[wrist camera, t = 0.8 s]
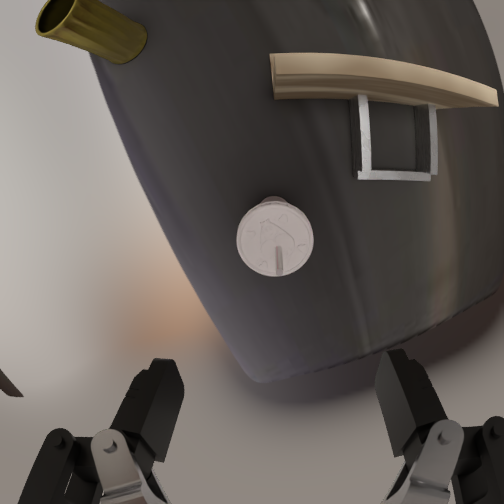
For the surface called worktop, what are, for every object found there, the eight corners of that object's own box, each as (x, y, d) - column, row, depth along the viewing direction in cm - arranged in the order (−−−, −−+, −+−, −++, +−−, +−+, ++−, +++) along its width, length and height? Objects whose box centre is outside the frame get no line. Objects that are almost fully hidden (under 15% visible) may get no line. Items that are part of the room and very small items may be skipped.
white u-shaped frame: (348, 99, 25) (357, 94, 22) (420, 106, 24) (435, 104, 21) (352, 176, 29) (362, 181, 26) (422, 178, 28) (436, 183, 25)
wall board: (269, 56, 24) (268, 10, 13) (430, 70, 22) (489, 53, 11) (274, 99, 26) (276, 74, 15) (434, 109, 24) (498, 106, 13)
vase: (132, 16, 22) (68, -25, 9) (156, 38, 23) (92, -6, 10) (98, 48, 24) (25, 25, 10) (120, 72, 25) (43, 51, 12)
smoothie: (261, 246, 33) (255, 318, 20) (235, 199, 31) (210, 245, 18) (311, 224, 31) (336, 284, 19) (286, 174, 29) (299, 202, 17)
